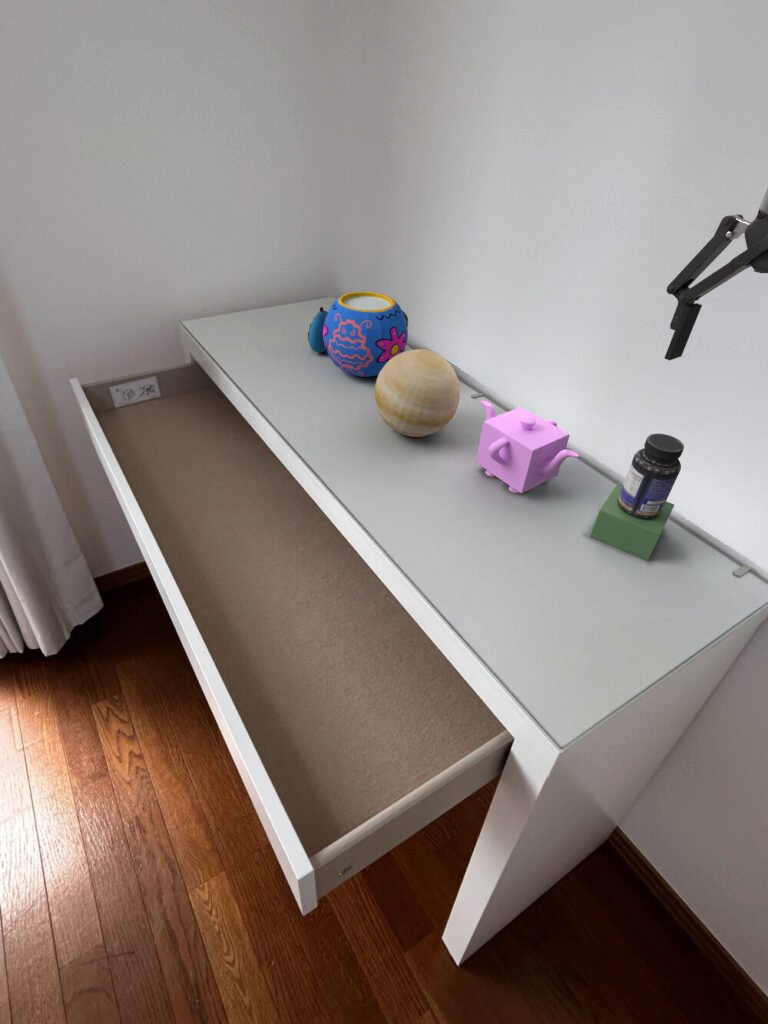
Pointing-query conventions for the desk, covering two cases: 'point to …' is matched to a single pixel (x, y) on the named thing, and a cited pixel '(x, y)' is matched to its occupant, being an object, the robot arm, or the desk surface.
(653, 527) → the block
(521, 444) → the teapot
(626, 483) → the pill bottle
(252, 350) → the desk surface
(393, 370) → the decorative ball
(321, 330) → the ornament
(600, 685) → the desk surface
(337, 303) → the ceramic pot
